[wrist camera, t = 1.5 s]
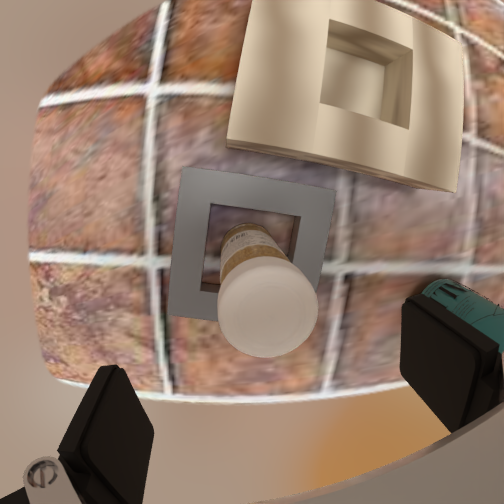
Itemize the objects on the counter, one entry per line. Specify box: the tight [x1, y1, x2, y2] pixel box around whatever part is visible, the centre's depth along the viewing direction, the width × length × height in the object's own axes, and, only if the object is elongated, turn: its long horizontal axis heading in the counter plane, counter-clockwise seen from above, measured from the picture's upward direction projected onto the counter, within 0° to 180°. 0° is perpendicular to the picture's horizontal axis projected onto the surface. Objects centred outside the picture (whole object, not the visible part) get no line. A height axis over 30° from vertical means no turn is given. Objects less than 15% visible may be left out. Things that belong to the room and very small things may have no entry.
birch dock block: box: [226, 0, 464, 193], centre depth 21 cm, size 18×14×6 cm
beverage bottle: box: [421, 279, 504, 354], centre depth 20 cm, size 6×7×20 cm
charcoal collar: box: [167, 166, 336, 321], centre depth 25 cm, size 12×12×2 cm
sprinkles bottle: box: [217, 223, 318, 358], centre depth 20 cm, size 5×5×13 cm
